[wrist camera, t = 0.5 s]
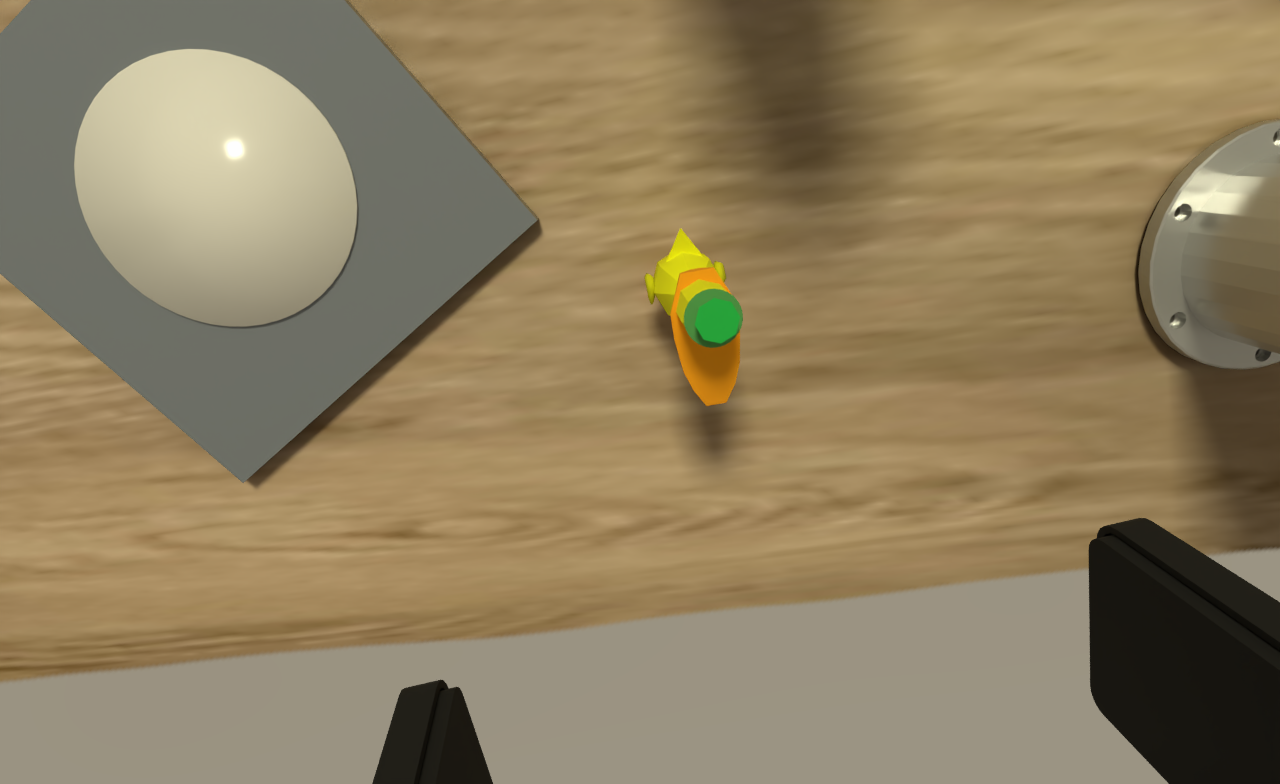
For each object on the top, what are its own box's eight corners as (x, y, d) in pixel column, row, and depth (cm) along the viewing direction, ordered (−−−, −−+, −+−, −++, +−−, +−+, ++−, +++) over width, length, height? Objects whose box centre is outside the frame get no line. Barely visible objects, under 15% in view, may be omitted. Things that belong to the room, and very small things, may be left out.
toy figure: (722, 345, 39) (780, 427, 28) (653, 357, 39) (683, 444, 28) (704, 213, 37) (758, 242, 25) (632, 225, 37) (654, 260, 25)
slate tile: (203, -165, 31) (188, -177, 30) (538, 218, 36) (537, 220, 35) (-103, 167, 34) (-127, 167, 33) (251, 474, 39) (241, 484, 38)
